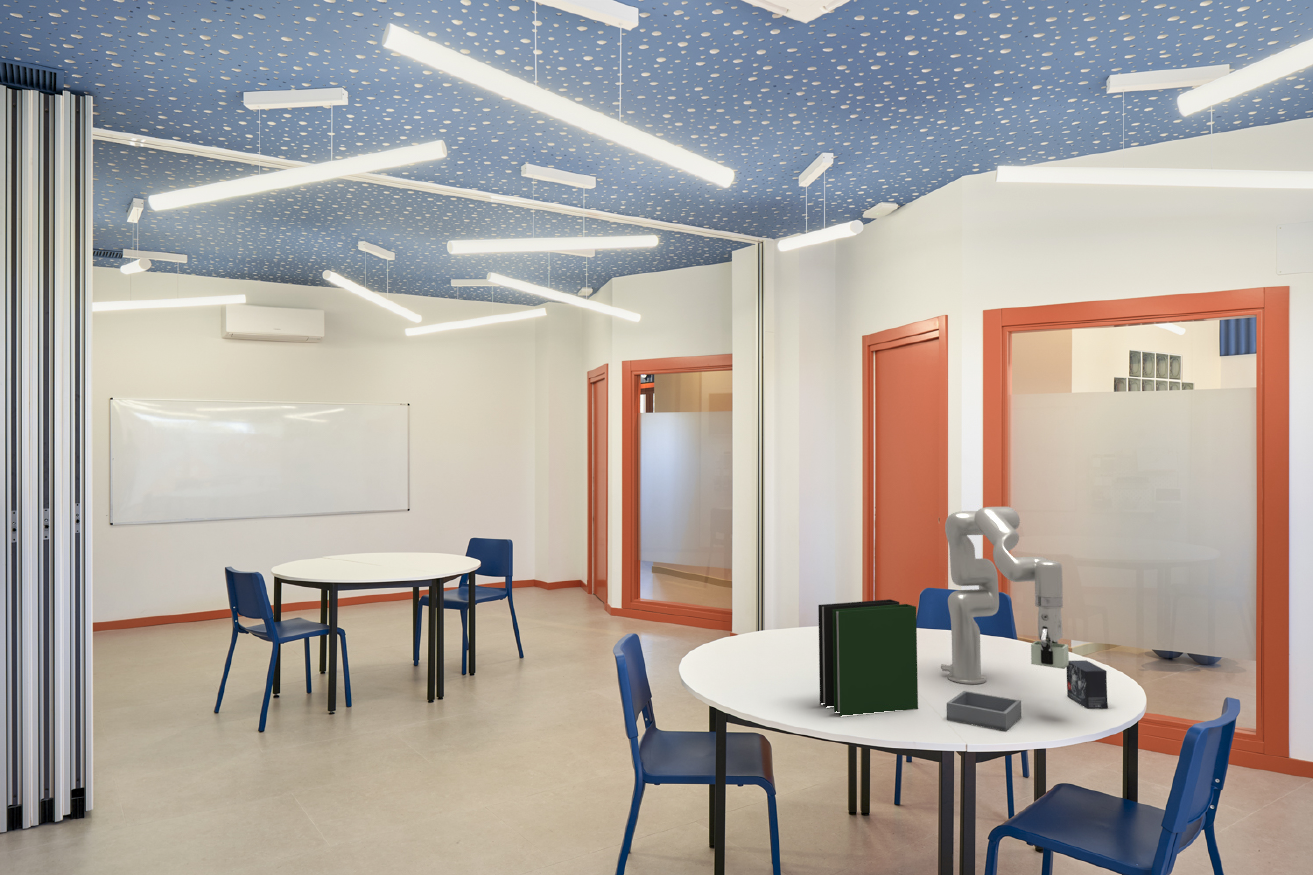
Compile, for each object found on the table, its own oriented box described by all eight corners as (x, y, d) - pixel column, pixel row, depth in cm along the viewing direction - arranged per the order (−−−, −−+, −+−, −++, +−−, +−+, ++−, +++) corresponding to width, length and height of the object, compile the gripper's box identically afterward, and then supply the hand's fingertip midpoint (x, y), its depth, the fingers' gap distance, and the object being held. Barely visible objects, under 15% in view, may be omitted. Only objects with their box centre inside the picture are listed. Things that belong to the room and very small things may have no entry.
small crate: (1031, 664, 242) (1031, 644, 242) (1036, 660, 247) (1036, 640, 247) (1064, 668, 237) (1063, 648, 237) (1068, 664, 241) (1068, 644, 242)
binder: (841, 717, 244) (839, 612, 245) (817, 703, 258) (816, 604, 259) (918, 708, 252) (916, 606, 253) (890, 695, 266) (889, 598, 267)
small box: (1066, 696, 263) (1065, 659, 264) (1087, 696, 263) (1086, 659, 264) (1086, 709, 250) (1085, 670, 251) (1108, 709, 250) (1107, 670, 250)
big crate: (946, 719, 241) (946, 702, 241) (964, 706, 254) (964, 690, 254) (1006, 731, 230) (1005, 713, 231) (1021, 717, 243) (1021, 700, 243)
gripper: (1055, 607, 233) (1056, 669, 233) (1068, 598, 247) (1070, 657, 246) (1027, 604, 238) (1029, 665, 238) (1042, 596, 251) (1043, 654, 251)
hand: (1049, 660), depth 242 cm, fingers closed on small crate, 6 cm apart
